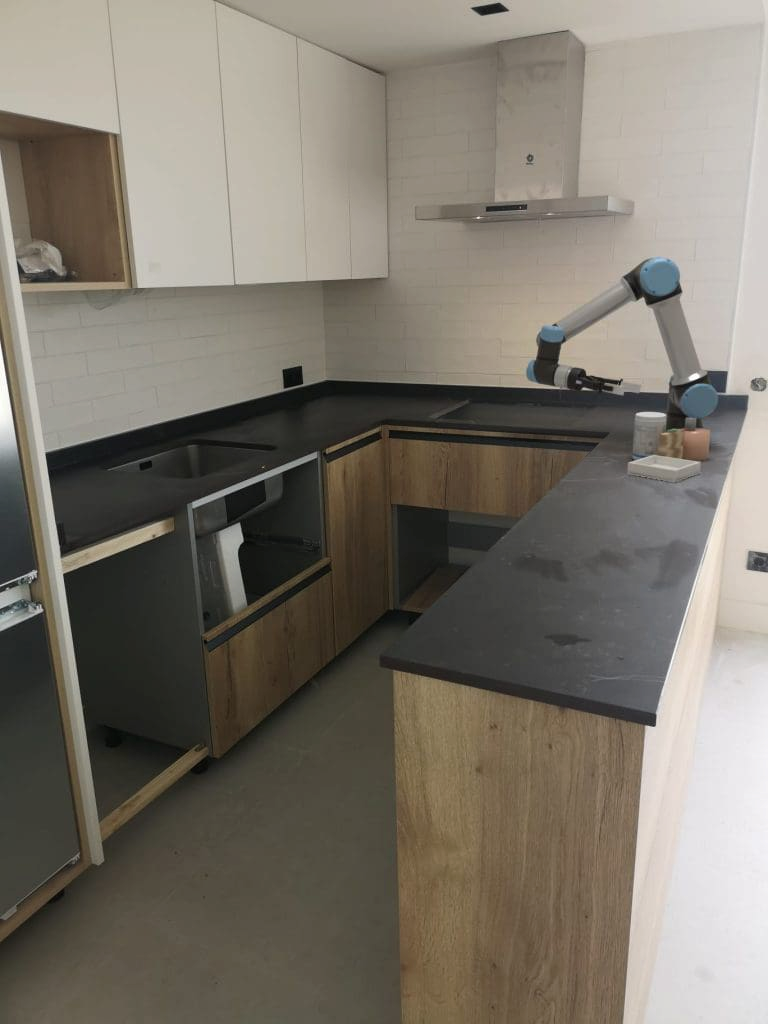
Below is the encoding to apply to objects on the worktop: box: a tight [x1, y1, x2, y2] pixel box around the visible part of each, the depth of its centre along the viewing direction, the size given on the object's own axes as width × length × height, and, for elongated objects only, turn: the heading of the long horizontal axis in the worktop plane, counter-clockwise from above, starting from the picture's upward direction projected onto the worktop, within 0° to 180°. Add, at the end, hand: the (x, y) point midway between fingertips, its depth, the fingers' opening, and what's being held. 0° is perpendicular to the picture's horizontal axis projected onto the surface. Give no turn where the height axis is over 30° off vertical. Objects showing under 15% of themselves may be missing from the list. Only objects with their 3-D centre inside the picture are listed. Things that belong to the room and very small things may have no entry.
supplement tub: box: [632, 411, 667, 461], centre depth 254 cm, size 10×10×15 cm
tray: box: [626, 455, 702, 484], centre depth 237 cm, size 15×15×4 cm
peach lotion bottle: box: [682, 417, 711, 462], centre depth 256 cm, size 9×9×13 cm
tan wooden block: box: [658, 429, 685, 459], centre depth 249 cm, size 12×2×11 cm, turn 133°
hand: (632, 390), depth 255 cm, fingers open, 13 cm apart
